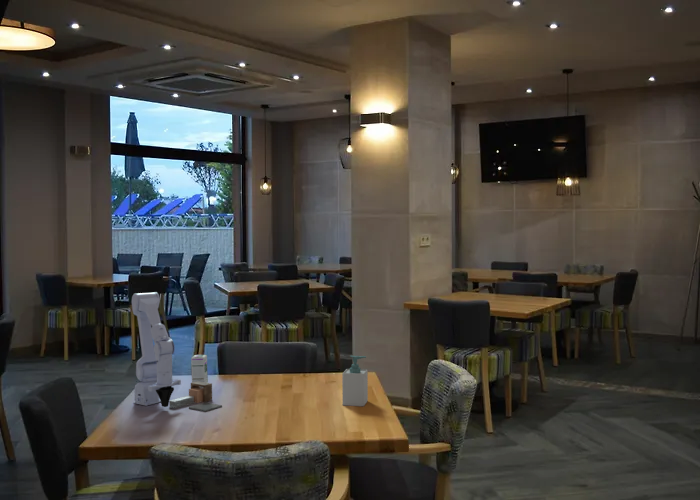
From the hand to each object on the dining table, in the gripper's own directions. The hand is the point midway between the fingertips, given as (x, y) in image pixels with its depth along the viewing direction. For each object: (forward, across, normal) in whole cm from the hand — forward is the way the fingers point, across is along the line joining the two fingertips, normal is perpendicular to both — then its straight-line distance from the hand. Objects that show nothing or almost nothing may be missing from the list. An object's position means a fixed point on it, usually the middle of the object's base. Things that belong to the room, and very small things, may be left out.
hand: (165, 406), depth 278 cm
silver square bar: (+2, +9, 0) cm, 9 cm away
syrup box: (+2, +32, +15) cm, 35 cm away
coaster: (+1, +11, -10) cm, 15 cm away
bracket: (+1, +19, 0) cm, 19 cm away
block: (+2, +17, 0) cm, 17 cm away
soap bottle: (+2, +49, -55) cm, 74 cm away
